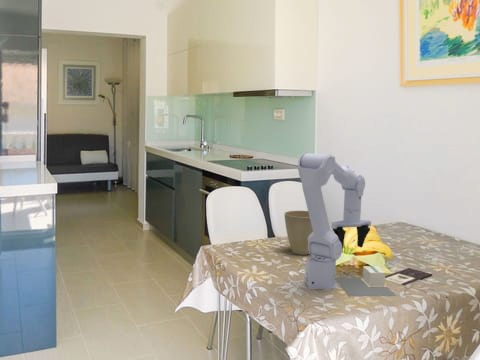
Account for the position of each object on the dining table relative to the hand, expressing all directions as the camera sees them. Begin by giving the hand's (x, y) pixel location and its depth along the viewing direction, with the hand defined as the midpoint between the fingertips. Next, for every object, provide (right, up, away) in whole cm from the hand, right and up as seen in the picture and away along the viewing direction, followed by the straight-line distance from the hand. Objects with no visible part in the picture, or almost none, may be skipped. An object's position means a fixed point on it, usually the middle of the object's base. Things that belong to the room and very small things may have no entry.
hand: (350, 247), depth 170 cm
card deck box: (+6, -10, -9) cm, 15 cm away
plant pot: (-14, -6, +27) cm, 31 cm away
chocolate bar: (+19, -11, -2) cm, 22 cm away
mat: (+1, -11, -13) cm, 17 cm away
